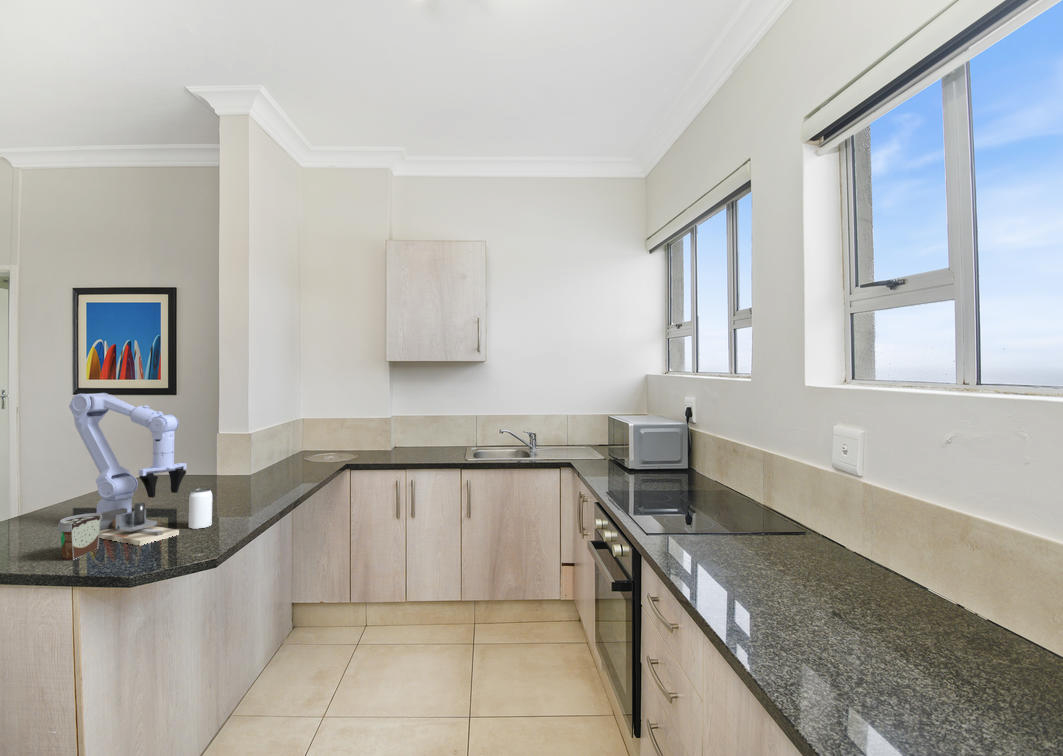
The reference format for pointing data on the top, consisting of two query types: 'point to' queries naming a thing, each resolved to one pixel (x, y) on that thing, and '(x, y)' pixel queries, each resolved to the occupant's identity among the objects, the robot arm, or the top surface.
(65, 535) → the food container
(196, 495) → the can
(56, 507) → the top surface
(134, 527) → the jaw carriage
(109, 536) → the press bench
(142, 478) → the robot arm
